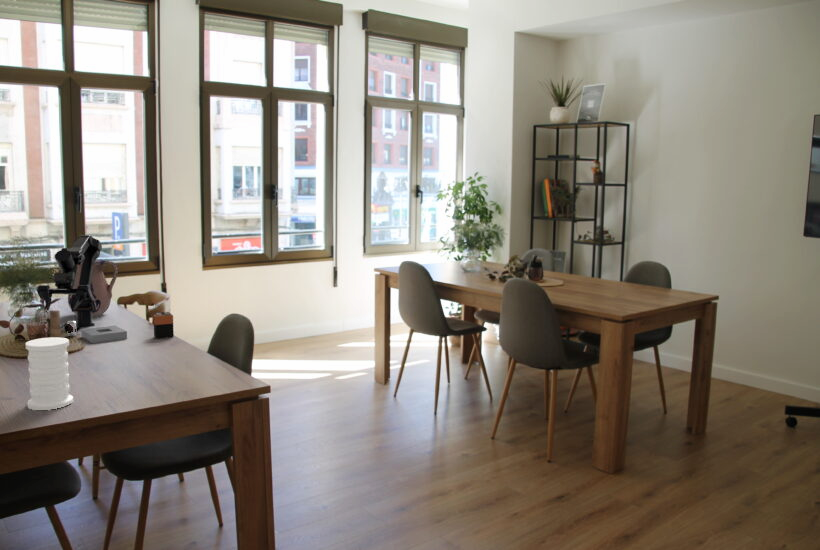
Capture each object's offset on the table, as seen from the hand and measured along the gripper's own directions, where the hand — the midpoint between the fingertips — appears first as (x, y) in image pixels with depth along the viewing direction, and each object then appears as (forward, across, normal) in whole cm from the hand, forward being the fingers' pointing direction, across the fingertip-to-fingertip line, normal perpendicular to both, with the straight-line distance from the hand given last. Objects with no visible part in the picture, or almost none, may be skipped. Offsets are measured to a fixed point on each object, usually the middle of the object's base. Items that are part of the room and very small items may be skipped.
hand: (60, 309), depth 269 cm
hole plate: (+5, +14, +12) cm, 19 cm away
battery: (+5, +37, +12) cm, 39 cm away
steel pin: (+2, +1, +15) cm, 15 cm away
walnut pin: (+13, 0, +4) cm, 14 cm away
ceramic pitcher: (-27, -2, +45) cm, 52 cm away
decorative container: (+63, +20, -45) cm, 80 cm away
